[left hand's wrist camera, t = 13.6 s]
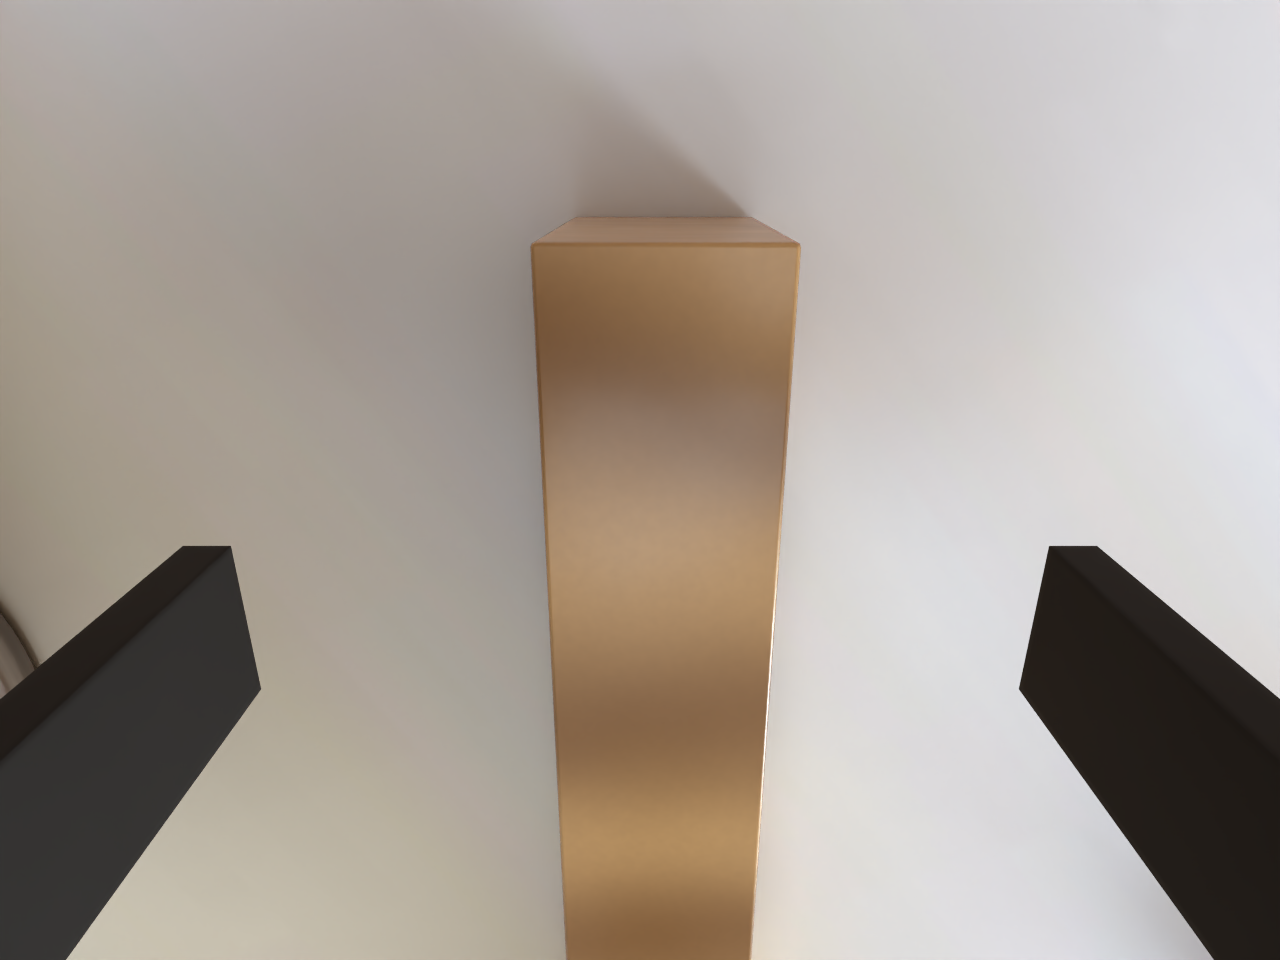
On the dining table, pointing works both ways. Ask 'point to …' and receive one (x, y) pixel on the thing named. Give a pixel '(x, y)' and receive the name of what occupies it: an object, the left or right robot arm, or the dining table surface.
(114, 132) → the dining table surface
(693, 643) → the beam
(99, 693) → the left robot arm
